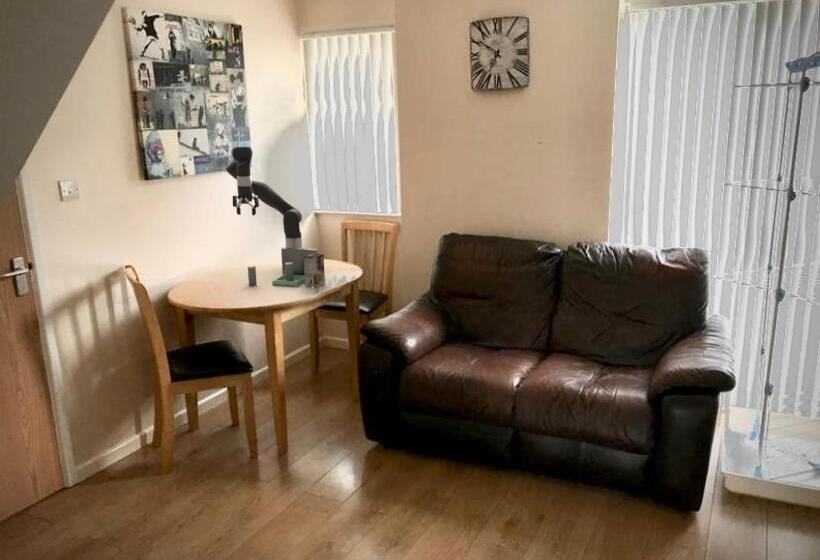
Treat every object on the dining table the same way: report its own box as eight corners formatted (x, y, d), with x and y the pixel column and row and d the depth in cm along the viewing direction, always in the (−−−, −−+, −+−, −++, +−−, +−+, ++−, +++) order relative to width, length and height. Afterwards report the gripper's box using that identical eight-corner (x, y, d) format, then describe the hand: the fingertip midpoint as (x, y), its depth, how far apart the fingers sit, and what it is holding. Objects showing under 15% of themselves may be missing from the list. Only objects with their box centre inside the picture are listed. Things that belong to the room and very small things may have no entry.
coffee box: (315, 282, 354) (314, 252, 350) (325, 284, 351) (324, 254, 347) (304, 286, 347) (303, 256, 343) (314, 288, 344) (313, 257, 340)
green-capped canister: (287, 280, 357) (287, 262, 354) (294, 280, 356) (294, 262, 353) (284, 282, 353) (283, 263, 351) (291, 282, 352) (290, 264, 350)
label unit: (286, 274, 372) (285, 246, 368) (320, 276, 367) (319, 247, 363) (280, 278, 364) (279, 249, 360) (315, 280, 359) (313, 250, 355)
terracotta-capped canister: (251, 284, 352) (249, 265, 350) (258, 284, 351) (256, 265, 349) (247, 285, 349) (246, 267, 346) (254, 286, 348) (253, 267, 345)
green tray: (283, 278, 362) (283, 274, 362) (307, 280, 359) (306, 275, 359) (272, 285, 350) (272, 280, 349) (296, 286, 346) (296, 282, 346)
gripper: (228, 185, 354) (231, 215, 358) (253, 185, 351) (255, 216, 355) (235, 183, 361) (237, 213, 365) (259, 184, 358) (261, 214, 362)
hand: (246, 215), depth 360 cm, fingers open, 8 cm apart
